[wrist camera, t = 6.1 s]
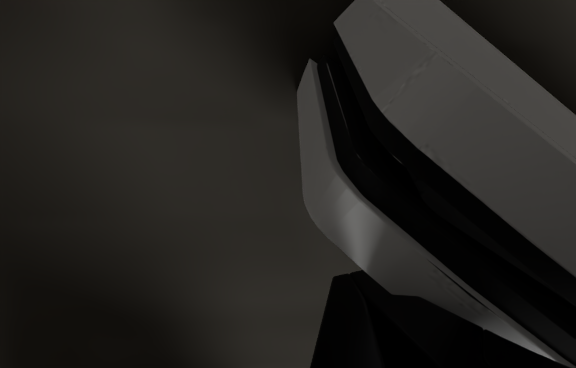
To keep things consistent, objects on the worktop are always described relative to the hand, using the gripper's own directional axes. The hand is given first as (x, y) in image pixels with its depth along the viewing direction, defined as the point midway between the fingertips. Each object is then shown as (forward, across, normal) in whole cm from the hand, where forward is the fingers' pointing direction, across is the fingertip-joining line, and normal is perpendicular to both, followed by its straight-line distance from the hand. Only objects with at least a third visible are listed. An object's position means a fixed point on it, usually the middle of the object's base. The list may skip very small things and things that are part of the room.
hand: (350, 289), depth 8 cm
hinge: (+6, -7, 0) cm, 9 cm away
